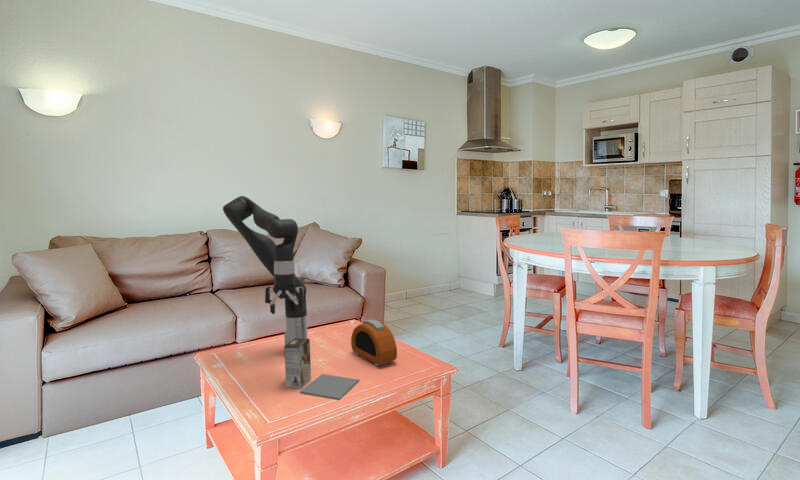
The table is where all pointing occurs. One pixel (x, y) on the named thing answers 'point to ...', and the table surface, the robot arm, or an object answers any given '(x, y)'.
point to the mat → (330, 386)
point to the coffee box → (297, 363)
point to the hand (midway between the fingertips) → (285, 313)
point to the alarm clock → (374, 342)
